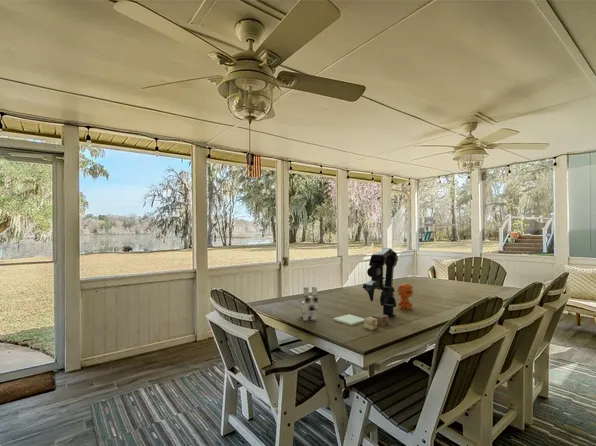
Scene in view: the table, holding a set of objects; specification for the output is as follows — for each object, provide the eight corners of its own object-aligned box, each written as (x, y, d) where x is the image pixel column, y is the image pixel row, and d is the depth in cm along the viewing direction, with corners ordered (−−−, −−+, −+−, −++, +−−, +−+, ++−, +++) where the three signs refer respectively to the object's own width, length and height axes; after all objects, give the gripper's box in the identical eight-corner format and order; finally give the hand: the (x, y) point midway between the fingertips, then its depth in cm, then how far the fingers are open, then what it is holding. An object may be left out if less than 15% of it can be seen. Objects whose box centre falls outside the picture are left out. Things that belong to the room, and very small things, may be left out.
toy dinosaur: (416, 310, 209) (416, 283, 209) (400, 310, 209) (399, 283, 209) (410, 306, 220) (410, 280, 220) (395, 306, 220) (395, 280, 220)
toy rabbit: (311, 315, 199) (311, 283, 199) (318, 323, 181) (317, 288, 182) (300, 315, 197) (300, 283, 198) (305, 323, 180) (305, 289, 181)
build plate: (349, 316, 196) (349, 314, 196) (366, 321, 185) (366, 319, 185) (333, 320, 187) (333, 318, 187) (351, 325, 176) (351, 323, 176)
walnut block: (379, 321, 185) (378, 313, 185) (388, 324, 180) (388, 315, 180) (372, 323, 181) (372, 315, 181) (381, 326, 176) (381, 317, 176)
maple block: (369, 325, 177) (369, 317, 177) (377, 328, 173) (377, 319, 173) (364, 327, 173) (364, 318, 174) (371, 329, 170) (371, 320, 170)
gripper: (356, 274, 184) (356, 301, 183) (382, 278, 169) (382, 307, 168) (369, 273, 190) (369, 299, 190) (395, 277, 175) (395, 305, 175)
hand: (378, 302), depth 180 cm, fingers open, 9 cm apart
